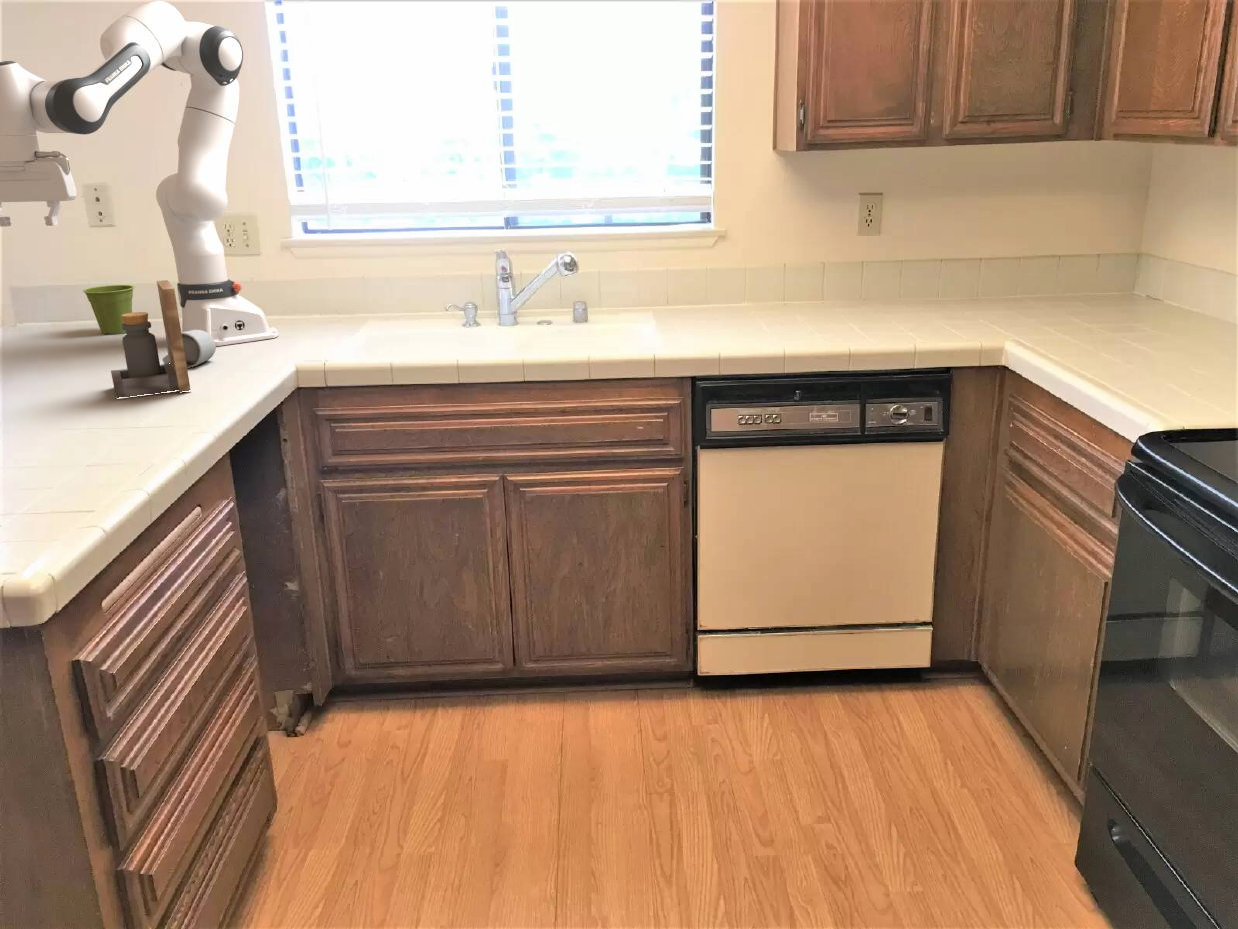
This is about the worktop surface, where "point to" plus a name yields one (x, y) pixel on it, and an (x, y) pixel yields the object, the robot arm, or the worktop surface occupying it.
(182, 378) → the wooden stand
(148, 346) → the bottle
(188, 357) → the ceramic mug
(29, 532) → the worktop surface
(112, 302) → the plant pot
